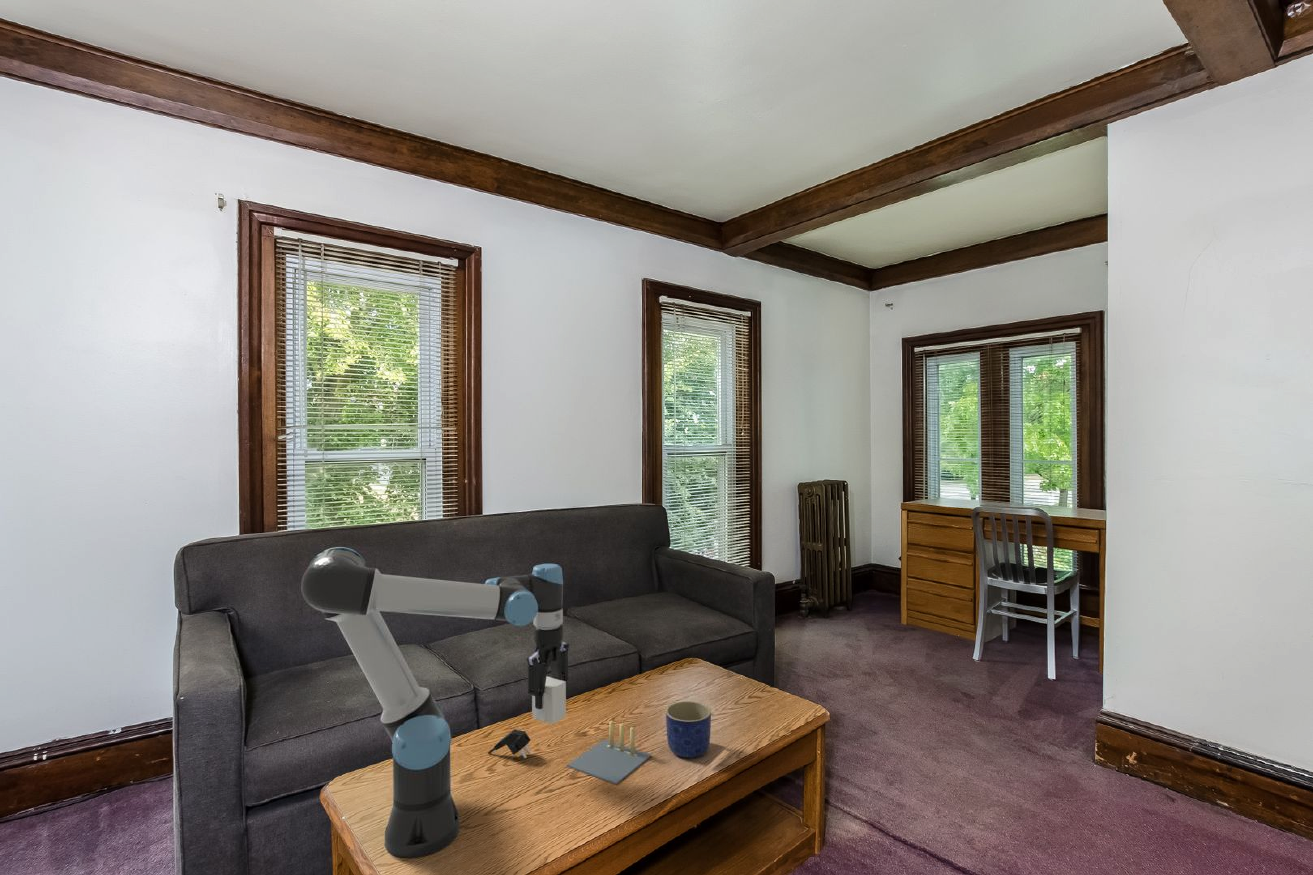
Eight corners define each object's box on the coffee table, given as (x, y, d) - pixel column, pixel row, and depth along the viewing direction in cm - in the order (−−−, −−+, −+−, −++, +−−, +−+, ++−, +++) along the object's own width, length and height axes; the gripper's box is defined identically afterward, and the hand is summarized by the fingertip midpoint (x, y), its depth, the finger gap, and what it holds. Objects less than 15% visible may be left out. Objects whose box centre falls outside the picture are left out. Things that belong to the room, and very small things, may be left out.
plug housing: (552, 724, 153) (552, 688, 153) (532, 717, 157) (531, 682, 157) (566, 716, 158) (565, 681, 158) (545, 709, 161) (545, 675, 161)
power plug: (491, 745, 170) (523, 721, 168) (507, 768, 169) (539, 744, 167) (482, 755, 164) (514, 731, 162) (498, 779, 163) (531, 755, 161)
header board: (616, 784, 152) (615, 754, 152) (567, 766, 160) (566, 738, 160) (651, 755, 165) (651, 728, 165) (604, 740, 174) (604, 714, 174)
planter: (720, 749, 168) (720, 709, 168) (691, 767, 159) (691, 725, 159) (686, 734, 177) (685, 697, 177) (656, 751, 168) (656, 711, 168)
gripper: (534, 637, 148) (535, 733, 148) (582, 618, 163) (582, 705, 163) (512, 632, 152) (512, 726, 152) (560, 614, 167) (561, 699, 167)
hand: (549, 715), depth 157 cm, fingers closed on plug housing, 5 cm apart
